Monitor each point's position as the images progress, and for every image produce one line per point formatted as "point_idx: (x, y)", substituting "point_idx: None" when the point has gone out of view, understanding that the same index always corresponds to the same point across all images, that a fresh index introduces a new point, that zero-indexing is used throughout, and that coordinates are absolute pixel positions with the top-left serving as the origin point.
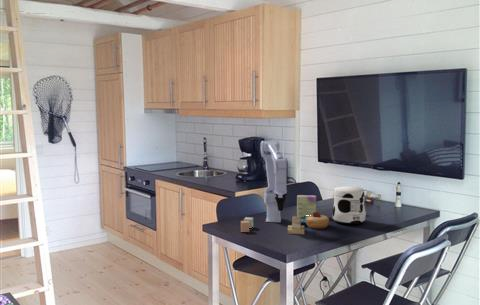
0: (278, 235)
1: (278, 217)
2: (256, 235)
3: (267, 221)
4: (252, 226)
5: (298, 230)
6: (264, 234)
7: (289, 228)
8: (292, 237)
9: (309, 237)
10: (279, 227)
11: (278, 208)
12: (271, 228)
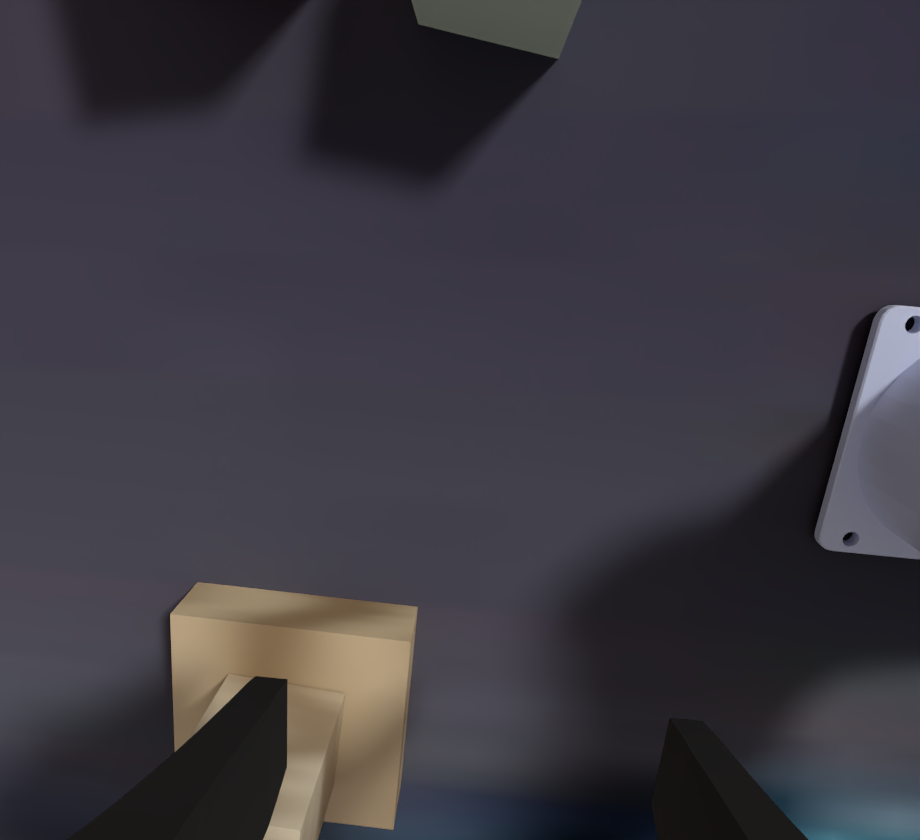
0: (91, 460)
1: (916, 546)
2: (33, 123)
3: (874, 336)
4: (498, 34)
5: (177, 736)
6: (111, 259)
7: (237, 643)
8: (31, 620)
9: (68, 790)
10: (518, 503)
11: (213, 726)
12: (462, 382)
